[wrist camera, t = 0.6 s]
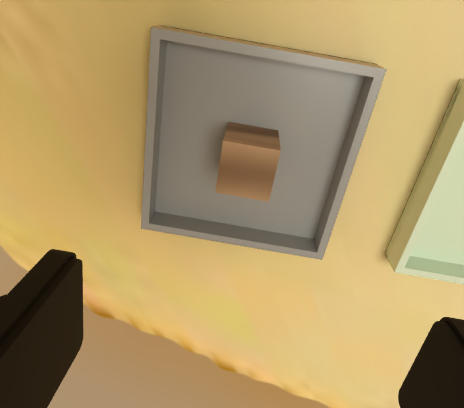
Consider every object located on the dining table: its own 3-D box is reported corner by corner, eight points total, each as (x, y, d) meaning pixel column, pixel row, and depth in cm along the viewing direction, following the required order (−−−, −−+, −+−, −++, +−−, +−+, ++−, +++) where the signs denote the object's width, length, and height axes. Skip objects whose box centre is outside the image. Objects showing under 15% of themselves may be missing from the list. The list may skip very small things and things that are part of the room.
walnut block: (228, 121, 37) (223, 140, 32) (278, 130, 37) (280, 150, 32) (221, 167, 40) (215, 192, 34) (268, 175, 40) (269, 201, 34)
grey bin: (161, 25, 34) (151, 27, 31) (375, 63, 35) (386, 69, 31) (149, 212, 44) (141, 228, 41) (318, 242, 44) (322, 259, 41)
